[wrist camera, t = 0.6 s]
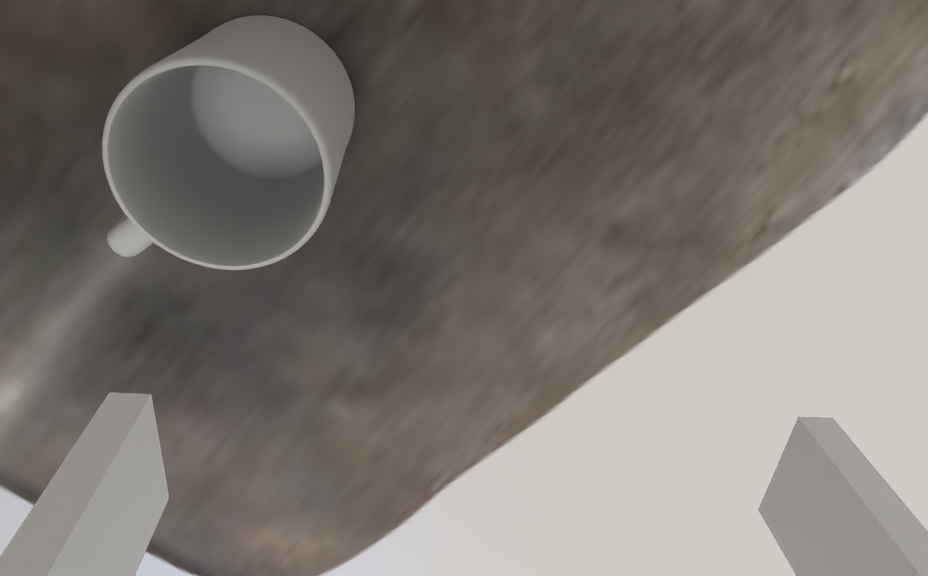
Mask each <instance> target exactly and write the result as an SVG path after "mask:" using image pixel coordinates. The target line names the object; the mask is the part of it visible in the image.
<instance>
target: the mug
mask: <svg viewBox="0 0 928 576" xmlns="http://www.w3.org/2000/svg"><path fill="white" fill-rule="evenodd" d="M354 118H355V101H354V93H353V89H352V85H351V82H350V79H349V77H348V74H347V72H346V70H345V68H344V66H343V64H342V62H341V61H340V59H339V58H338V57H337V55H336V54H335V52H334V51H333V50H332V49H331V48H330V47H329V46H328V45H327V43H325V42H324V41H323V40H322V39H321V38H320V37H319V36H317V35H316V34H315V33H313V32H312V31H310V30H309V29H307V28H305V27H303V26H301V25H299V24H297V23H295V22H292V21H290V20H287V19H284V18H279V17H275V16H266V15H254V16H246V17H241V18H237V19H234V20H231V21H228V22H226V23H224V24H222V25H220V26H218V27H216V28H215V29H213V30H212V31H210V32H209V33H207V34H206V35H204V36H203V37H201V38H199V39H198V40H196V41H194V42H192V43H191V44H189V45H187V46H185V47H184V48H182V49H180V50H178V51H177V52H175V53H173V54H171V55H169V56H168V57H166V58H164V59H162V60H161V61H159V62H157V63H155V64H153V65H152V66H150V67H148V68H147V69H145V70H144V71H143V72H141V73H140V74H139V75H137V76H136V77H135V78H133V79H132V80H131V81H130V82H129V83H128V84H127V85H126V86H125V87H124V89H123V90H122V91H121V92H120V94H119V95H118V97H117V98H116V100H115V101H114V102H113V105H112V107H111V109H110V111H109V113H108V116H107V119H106V123H105V127H104V132H103V140H102V156H103V163H104V169H105V173H106V176H107V180H108V183H109V186H110V188H111V190H112V192H113V194H114V196H115V199H116V200H117V202H118V204H119V205H120V207H121V208H122V210H123V212H124V213H125V214H124V215H123V216H122V218H121V219H120V220H119V221H118V222H117V223H116V224H115V225H114V226H113V227H112V229H111V230H110V231H109V233H108V236H107V241H108V244H109V246H110V247H111V248H112V249H113V251H114V252H116V253H117V254H119V255H121V256H124V257H132V256H136V255H137V254H139V253H140V252H142V251H143V250H145V249H146V248H147V247H149V246H150V245H151V244H152V243H155V244H157V245H158V246H160V247H161V248H163V249H164V250H166V251H167V252H169V253H171V254H173V255H175V256H177V257H179V258H181V259H184V260H186V261H189V262H192V263H194V264H198V265H202V266H205V267H210V268H216V269H224V270H243V269H252V268H257V267H262V266H266V265H269V264H272V263H275V262H277V261H279V260H281V259H283V258H285V257H287V256H289V255H290V254H292V253H293V252H295V251H296V250H298V249H299V248H300V247H301V246H302V245H304V244H305V243H306V242H307V241H308V240H309V239H310V237H311V236H312V235H313V234H314V233H315V232H316V230H317V228H318V227H319V225H320V224H321V222H322V221H323V218H324V216H325V214H326V212H327V210H328V207H329V204H330V201H331V197H332V194H333V191H334V187H335V184H336V180H337V177H338V174H339V170H340V167H341V163H342V160H343V157H344V153H345V150H346V148H347V145H348V143H349V140H350V137H351V133H352V130H353V125H354Z"/></svg>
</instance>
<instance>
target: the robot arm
mask: <svg viewBox="0 0 928 576" xmlns="http://www.w3.org/2000/svg"><path fill="white" fill-rule="evenodd" d="M168 499H169V494H168V489H167V483H166V477H165V471H164V465H163V460H162V454H161V448H160V442H159V436H158V431H157V425H156V419H155V413H154V408H153V402H152V396H151V394H134V393H109V394H108V395H107V397H106V398H105V400H104V401H103V403H102V405H101V406H100V408H99V409H98V411H97V412H96V414H95V415H94V417H93V418H92V420H91V421H90V423H89V424H88V426H87V427H86V429H85V430H84V432H83V433H82V435H81V436H80V438H79V439H78V441H77V442H76V444H75V445H74V447H73V448H72V450H71V451H70V453H69V454H68V456H67V457H66V459H65V460H64V462H63V463H62V465H61V466H60V468H59V469H58V471H57V472H56V474H55V475H54V477H53V478H52V480H51V481H50V483H49V484H48V486H47V487H46V489H45V490H44V492H43V493H42V495H41V496H40V498H39V499H38V501H37V502H36V504H35V505H34V507H33V508H32V510H31V511H30V513H29V514H28V516H27V517H26V519H25V520H24V522H23V523H22V525H21V526H20V528H19V529H18V531H17V532H16V534H15V535H14V537H13V538H12V540H11V541H10V543H9V544H8V546H7V547H6V549H5V550H4V552H3V553H2V555H1V556H0V576H135V574H136V572H137V570H138V567H139V565H140V563H141V560H142V558H143V556H144V554H145V551H146V549H147V547H148V545H149V542H150V540H151V538H152V535H153V533H154V531H155V529H156V526H157V524H158V522H159V519H160V517H161V515H162V513H163V510H164V508H165V506H166V504H167V501H168ZM758 510H759V512H760V513H761V515H762V517H763V519H764V520H765V522H766V524H767V526H768V527H769V529H770V530H771V532H772V534H773V536H774V538H775V539H776V541H777V543H778V545H779V546H780V548H781V550H782V551H783V553H784V555H785V557H786V558H787V560H788V562H789V564H790V565H791V567H792V569H793V570H794V572H795V574H796V576H928V531H927V530H926V529H925V528H924V526H923V525H922V524H921V523H920V522H919V521H918V519H917V518H916V517H915V516H914V515H913V513H912V512H911V511H910V510H909V508H908V507H907V506H906V505H905V504H904V503H903V501H902V500H901V499H900V498H899V497H898V495H897V494H896V493H895V492H894V491H893V489H892V488H891V487H890V486H889V485H888V483H887V482H886V481H885V480H884V479H883V478H882V476H881V475H880V474H879V473H878V472H877V470H876V469H875V468H874V467H873V466H872V464H871V463H870V462H869V461H868V460H867V458H866V457H865V456H864V455H863V454H862V452H861V451H860V450H859V449H858V448H857V446H856V445H855V444H854V443H853V442H852V441H851V440H850V438H849V437H848V436H847V435H846V433H845V432H844V431H843V430H842V429H841V427H840V426H839V425H838V424H837V423H836V421H835V420H834V419H833V418H819V417H798V419H797V421H796V424H795V426H794V428H793V431H792V433H791V435H790V438H789V440H788V442H787V445H786V447H785V449H784V451H783V454H782V456H781V458H780V461H779V463H778V465H777V468H776V470H775V472H774V475H773V477H772V479H771V482H770V484H769V486H768V489H767V491H766V493H765V496H764V498H763V500H762V502H761V505H760V507H759V509H758Z"/></svg>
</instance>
